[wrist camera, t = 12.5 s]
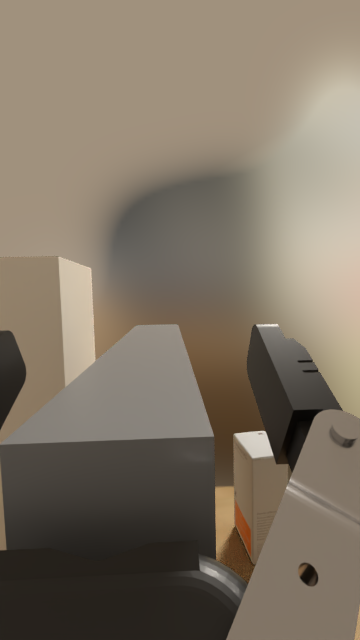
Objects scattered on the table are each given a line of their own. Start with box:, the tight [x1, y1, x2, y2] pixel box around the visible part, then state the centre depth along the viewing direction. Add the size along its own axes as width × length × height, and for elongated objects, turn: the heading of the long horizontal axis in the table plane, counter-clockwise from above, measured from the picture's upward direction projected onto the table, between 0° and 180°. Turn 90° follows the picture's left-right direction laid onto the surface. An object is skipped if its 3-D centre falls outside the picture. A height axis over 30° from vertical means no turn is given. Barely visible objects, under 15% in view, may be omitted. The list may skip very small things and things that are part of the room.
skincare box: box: [234, 431, 288, 565], centre depth 35 cm, size 6×4×12 cm
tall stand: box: [0, 256, 95, 550], centre depth 30 cm, size 9×13×32 cm
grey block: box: [0, 324, 216, 561], centre depth 18 cm, size 4×24×4 cm, turn 2°
